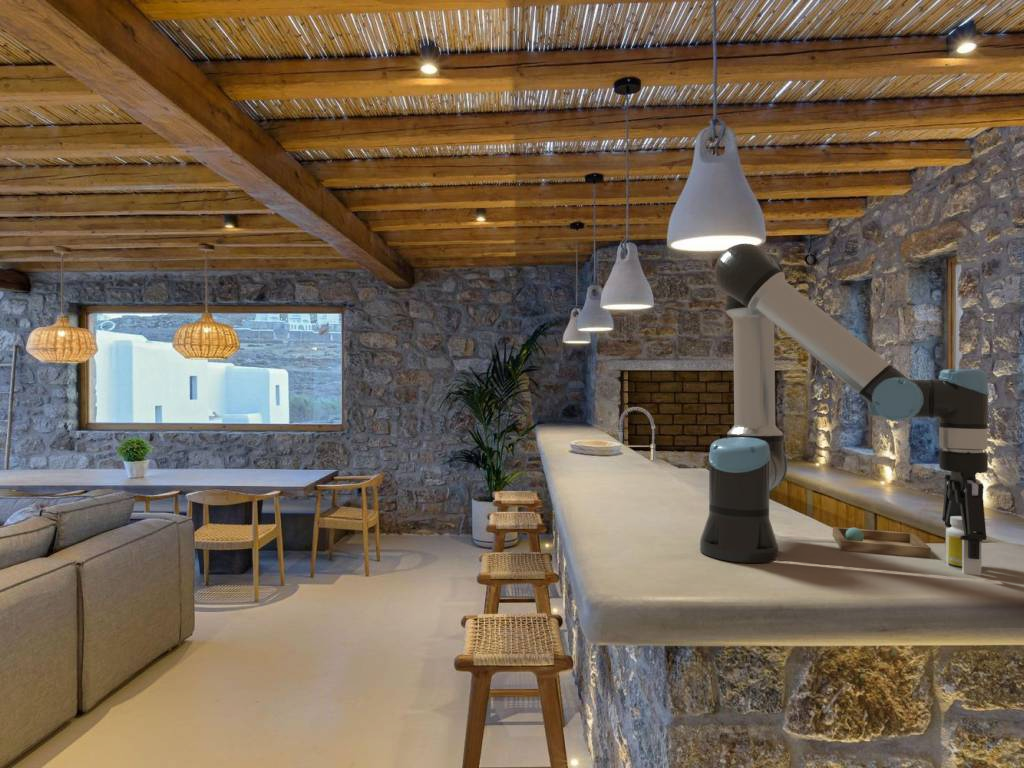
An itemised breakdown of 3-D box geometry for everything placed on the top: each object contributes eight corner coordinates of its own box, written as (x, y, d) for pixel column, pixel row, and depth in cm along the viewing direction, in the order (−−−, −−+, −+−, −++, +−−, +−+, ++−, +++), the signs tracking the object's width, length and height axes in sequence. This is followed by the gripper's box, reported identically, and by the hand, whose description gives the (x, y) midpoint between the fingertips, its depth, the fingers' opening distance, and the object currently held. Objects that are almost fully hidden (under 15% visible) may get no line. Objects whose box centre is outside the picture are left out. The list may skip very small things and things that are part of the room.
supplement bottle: (986, 574, 118) (986, 521, 118) (953, 572, 119) (953, 520, 119) (971, 566, 123) (971, 515, 123) (940, 564, 124) (940, 514, 124)
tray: (841, 552, 132) (841, 540, 132) (832, 538, 146) (832, 527, 146) (930, 560, 127) (930, 548, 127) (913, 544, 140) (913, 533, 140)
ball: (846, 544, 137) (846, 528, 137) (844, 541, 140) (844, 525, 140) (865, 546, 136) (865, 529, 136) (862, 542, 139) (862, 526, 139)
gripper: (1009, 457, 109) (1009, 587, 109) (967, 446, 130) (967, 555, 130) (958, 455, 112) (957, 582, 112) (924, 444, 133) (924, 552, 133)
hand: (962, 568), depth 121 cm, fingers open, 10 cm apart
